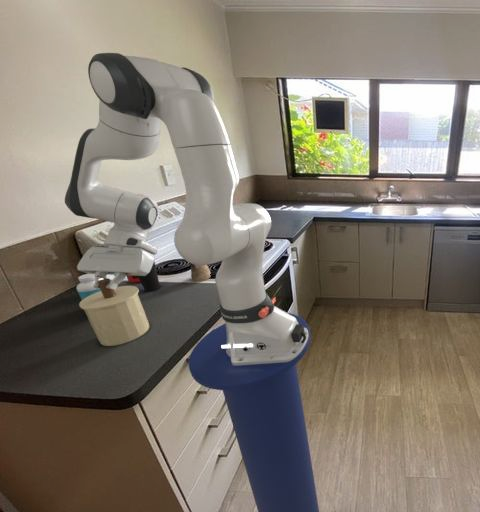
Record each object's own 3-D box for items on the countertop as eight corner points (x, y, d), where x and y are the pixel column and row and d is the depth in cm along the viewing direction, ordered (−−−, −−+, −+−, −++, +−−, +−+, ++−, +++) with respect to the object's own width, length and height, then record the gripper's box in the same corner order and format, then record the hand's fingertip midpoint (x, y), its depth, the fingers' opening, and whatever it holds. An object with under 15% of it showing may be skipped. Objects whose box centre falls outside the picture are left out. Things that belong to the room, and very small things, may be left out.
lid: (150, 290, 89) (143, 271, 86) (109, 313, 77) (100, 292, 74) (113, 288, 90) (105, 270, 87) (67, 310, 78) (57, 290, 76)
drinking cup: (139, 288, 114) (121, 241, 107) (162, 282, 119) (146, 236, 112) (142, 295, 109) (123, 246, 102) (166, 288, 114) (150, 241, 107)
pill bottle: (118, 310, 100) (103, 275, 95) (88, 319, 95) (71, 282, 90) (116, 302, 105) (102, 268, 100) (88, 310, 100) (72, 275, 95)
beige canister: (158, 323, 93) (146, 289, 88) (125, 347, 82) (109, 309, 77) (126, 321, 94) (112, 287, 89) (89, 344, 83) (70, 307, 78)
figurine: (196, 275, 126) (189, 249, 121) (213, 273, 127) (207, 248, 122) (189, 282, 119) (181, 255, 115) (207, 280, 120) (200, 254, 116)
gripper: (83, 239, 85) (59, 283, 79) (146, 240, 83) (126, 286, 77) (103, 248, 90) (83, 290, 85) (163, 249, 88) (146, 293, 83)
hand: (104, 288), depth 81 cm, fingers closed on lid, 2 cm apart
